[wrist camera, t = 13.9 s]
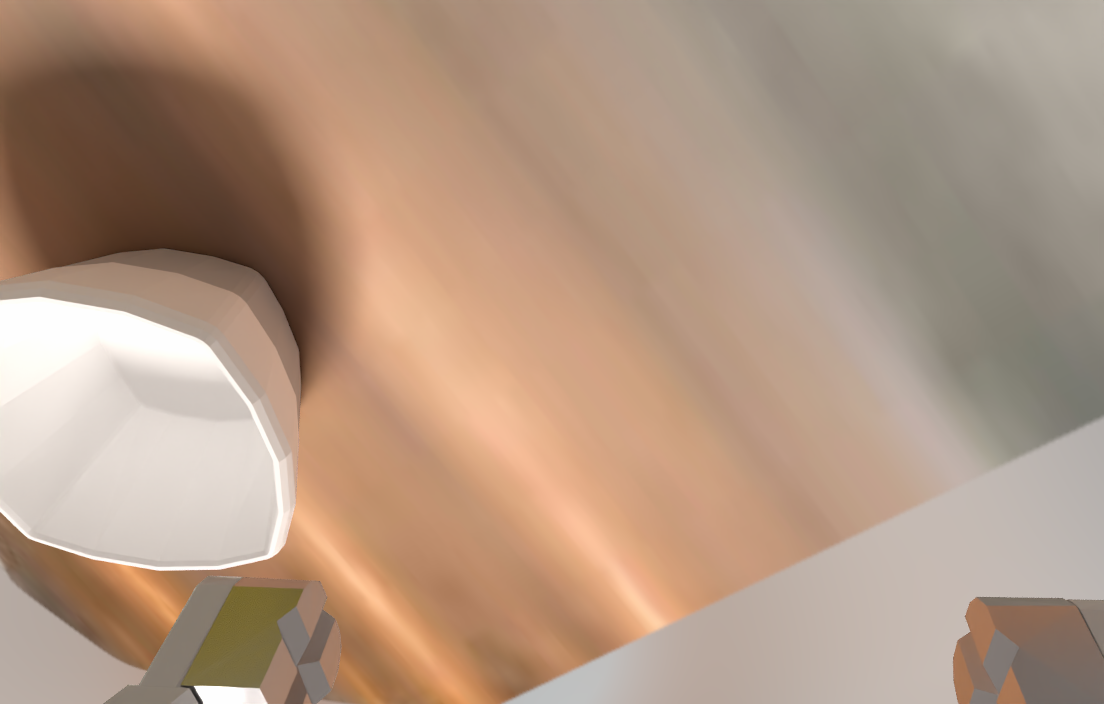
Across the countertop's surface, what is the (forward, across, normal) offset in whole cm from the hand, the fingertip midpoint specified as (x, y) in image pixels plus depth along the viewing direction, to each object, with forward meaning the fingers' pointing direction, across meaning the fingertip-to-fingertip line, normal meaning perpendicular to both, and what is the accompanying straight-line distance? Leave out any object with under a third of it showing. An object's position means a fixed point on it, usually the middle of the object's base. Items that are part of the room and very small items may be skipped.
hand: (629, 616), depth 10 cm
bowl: (+29, +26, +15) cm, 42 cm away
